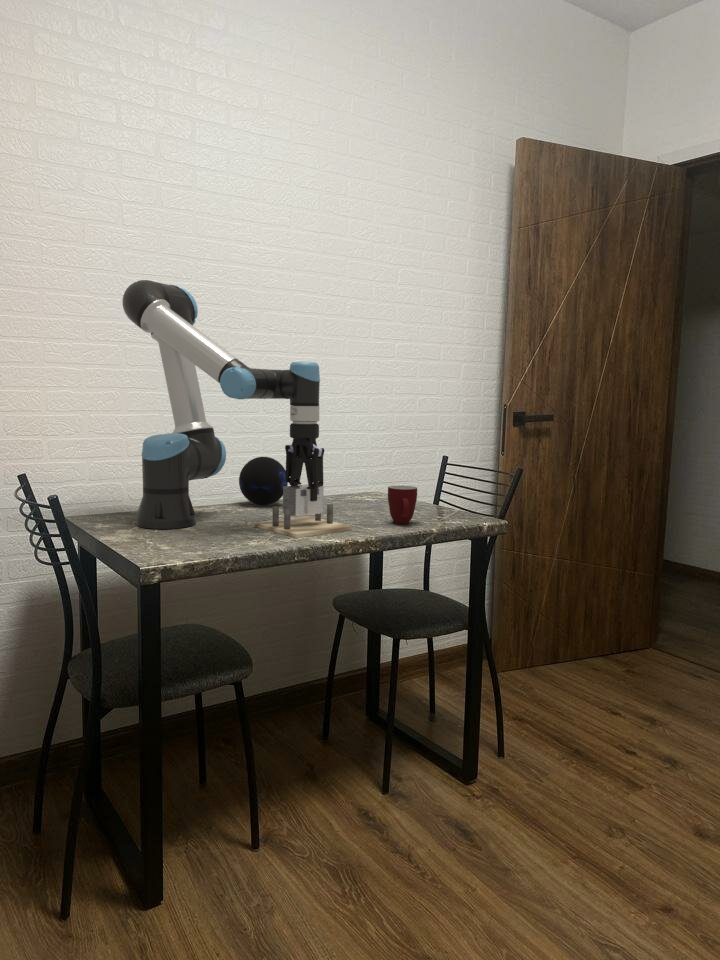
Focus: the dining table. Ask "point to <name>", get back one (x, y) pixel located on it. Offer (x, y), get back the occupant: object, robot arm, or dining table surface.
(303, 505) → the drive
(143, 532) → the dining table surface
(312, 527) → the wooden peg board
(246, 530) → the dining table surface
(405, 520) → the mug
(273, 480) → the decorative sphere
